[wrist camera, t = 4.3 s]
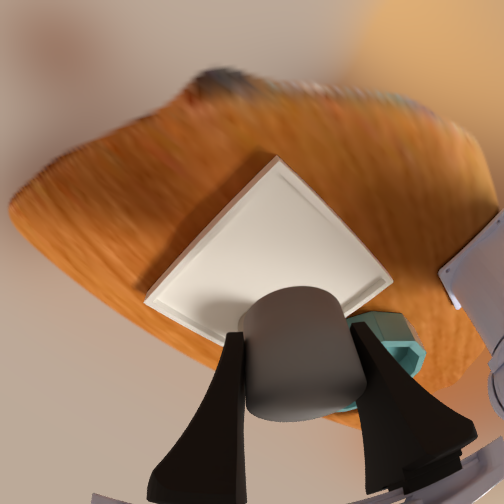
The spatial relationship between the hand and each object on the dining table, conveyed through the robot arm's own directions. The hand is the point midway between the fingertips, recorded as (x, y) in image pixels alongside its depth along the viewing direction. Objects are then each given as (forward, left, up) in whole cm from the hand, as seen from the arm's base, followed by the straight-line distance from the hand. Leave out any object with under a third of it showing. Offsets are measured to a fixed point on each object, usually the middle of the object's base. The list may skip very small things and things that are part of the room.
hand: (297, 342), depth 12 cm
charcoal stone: (0, 0, -1) cm, 1 cm away
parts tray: (+3, +2, -8) cm, 9 cm away
